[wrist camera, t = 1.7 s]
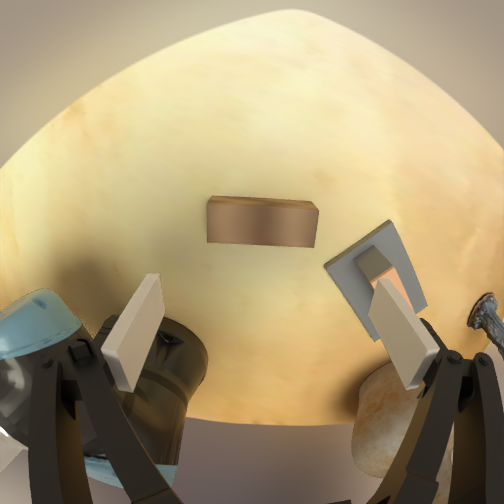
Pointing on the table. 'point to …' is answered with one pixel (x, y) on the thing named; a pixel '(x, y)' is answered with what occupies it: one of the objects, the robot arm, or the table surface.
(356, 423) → the vase
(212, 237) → the walnut bar
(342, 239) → the table surface
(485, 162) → the table surface
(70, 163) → the table surface
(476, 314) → the antler
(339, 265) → the ridge block
